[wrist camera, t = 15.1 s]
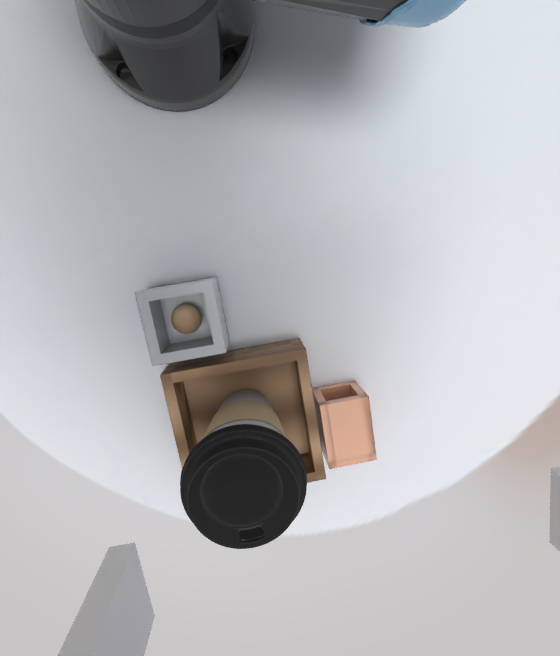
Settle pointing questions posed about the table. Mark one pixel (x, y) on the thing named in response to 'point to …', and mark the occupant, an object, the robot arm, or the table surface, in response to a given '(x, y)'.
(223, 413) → the coffee cup
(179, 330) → the cork ball
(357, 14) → the robot arm
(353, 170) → the table surface
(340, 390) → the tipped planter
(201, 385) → the walnut box
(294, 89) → the table surface
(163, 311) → the grey tub
